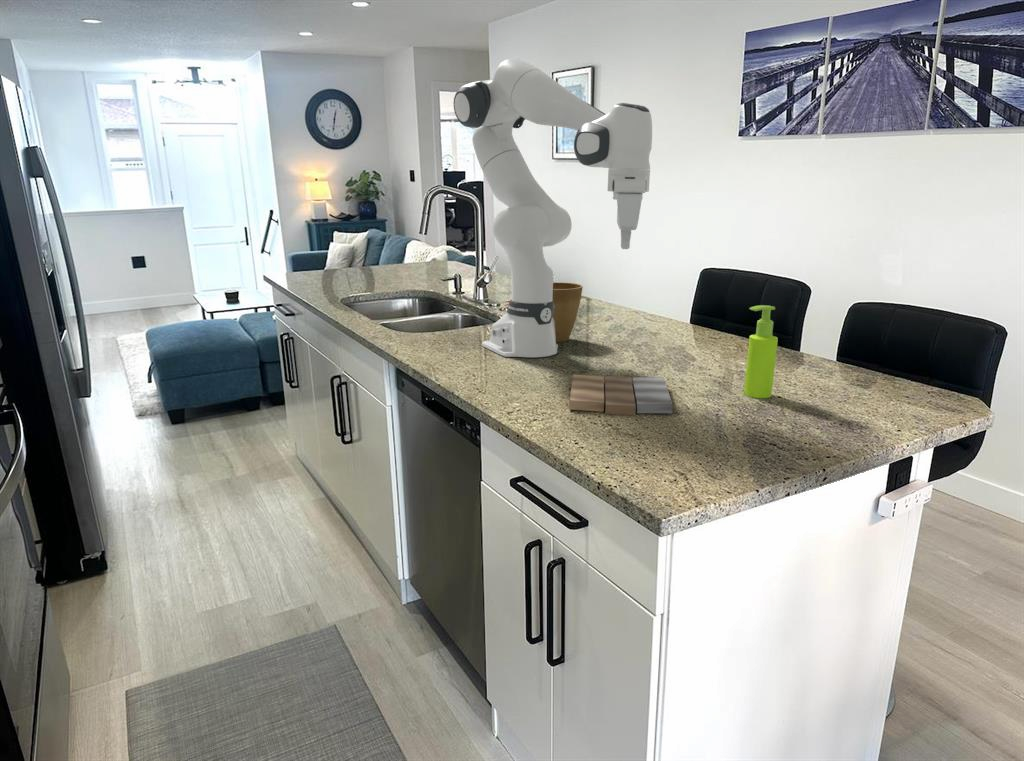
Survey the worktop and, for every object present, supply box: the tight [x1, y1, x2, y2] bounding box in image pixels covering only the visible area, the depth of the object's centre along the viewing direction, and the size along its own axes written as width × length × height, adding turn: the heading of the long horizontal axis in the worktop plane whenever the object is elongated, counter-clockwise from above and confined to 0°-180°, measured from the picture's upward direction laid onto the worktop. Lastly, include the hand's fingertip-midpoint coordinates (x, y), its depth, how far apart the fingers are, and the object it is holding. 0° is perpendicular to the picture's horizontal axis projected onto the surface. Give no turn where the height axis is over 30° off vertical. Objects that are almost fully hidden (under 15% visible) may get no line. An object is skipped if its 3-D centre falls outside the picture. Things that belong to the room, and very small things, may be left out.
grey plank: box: [632, 376, 673, 414], centre depth 156 cm, size 20×7×2 cm, turn 174°
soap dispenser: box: [743, 304, 779, 399], centre depth 159 cm, size 6×7×20 cm
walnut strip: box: [604, 375, 637, 416], centre depth 157 cm, size 22×6×2 cm, turn 174°
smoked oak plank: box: [568, 374, 605, 413], centre depth 158 cm, size 20×7×2 cm, turn 174°
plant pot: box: [553, 281, 584, 343], centre depth 211 cm, size 15×15×16 cm
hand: (625, 248), depth 160 cm, fingers closed
